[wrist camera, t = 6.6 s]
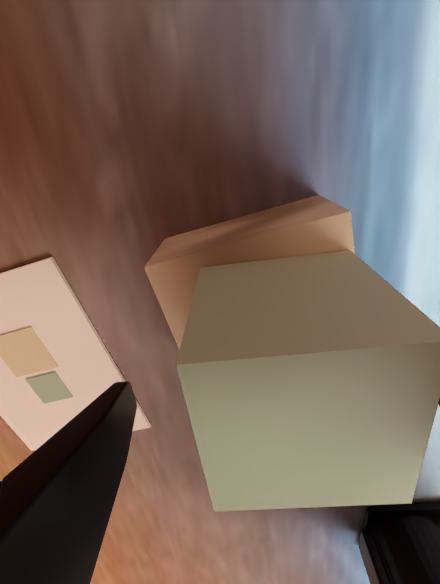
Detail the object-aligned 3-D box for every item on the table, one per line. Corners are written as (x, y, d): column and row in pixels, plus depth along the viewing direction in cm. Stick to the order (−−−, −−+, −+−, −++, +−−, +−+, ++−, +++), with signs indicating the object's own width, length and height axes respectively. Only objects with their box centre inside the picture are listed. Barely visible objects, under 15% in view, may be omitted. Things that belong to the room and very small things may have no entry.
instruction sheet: (52, 256, 14) (49, 258, 14) (151, 425, 19) (150, 429, 19) (-94, 302, 15) (-100, 305, 15) (33, 448, 20) (30, 452, 20)
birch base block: (316, 193, 13) (350, 211, 9) (335, 325, 16) (366, 378, 12) (166, 236, 14) (143, 267, 10) (210, 352, 17) (204, 408, 13)
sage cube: (349, 249, 10) (455, 340, 5) (342, 367, 12) (411, 503, 7) (200, 267, 10) (175, 365, 6) (220, 377, 12) (213, 511, 8)
